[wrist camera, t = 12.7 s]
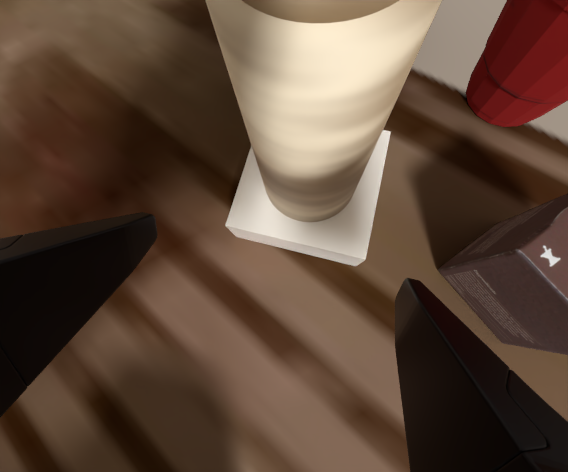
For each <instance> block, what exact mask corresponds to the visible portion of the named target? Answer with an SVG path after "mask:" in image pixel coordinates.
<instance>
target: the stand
mask: <svg viewBox="0 0 568 472" xmlns="http://www.w3.org/2000/svg"><path fill="white" fill-rule="evenodd" d="M389 138H390V131H385V130H383V131H382V133H381V135H380V137H379V139H378V142H377V144H376V146H375V148H374V150H373V153H372V155H371V157H370V159H369V161H368V163H367V166H366V168H365V170H364V172H363V174H362V177H361V179H360V181H359V183H358V185H357V187H356V190H355V192H354V194H353V196H352V198H351V200H350V202H349V203H348V204H347V206H346V207H345V208H344V209H343V210H342V211H341V212H339V213H338V214H336V215H335V216H333V217H331V218H329V219H326V220H323V221H318V222H302V221H297V220H294V219H291V218H289V217H287V216H285V215H284V214H282V213H281V212H280V211H278V210H277V209H276V208H275V207H274V205H273V204H272V203H271V201H270V199H269V197H268V195H267V193H266V190H265V186H264V183H263V180H262V177H261V174H260V171H259V167H258V164H257V161H256V158H255V155H254V152H253V149H252V145H251V148H250V151H249V154H248V157H247V161H246V164H245V167H244V170H243V173H242V176H241V179H240V182H239V185H238V188H237V191H236V194H235V198H234V201H233V204H232V207H231V210H230V213H229V216H228V219H227V222H226V225H225V226H226V227H227V228H228V229H229V230H230V231H231V232H232V233H233V234H234V235H235V236H236V237H239V238H243V239H247V240H252V241H256V242H260V243H264V244H268V245H272V246H276V247H280V248H284V249H288V250H292V251H296V252H300V253H304V254H308V255H312V256H316V257H320V258H324V259H328V260H332V261H337V262H341V263H345V264H349V265H353V266H357V265H358V264H360V263H361V262H363V261H364V260H366V255H367V249H368V244H369V239H370V234H371V229H372V224H373V219H374V214H375V209H376V204H377V199H378V194H379V188H380V183H381V178H382V173H383V168H384V163H385V158H386V153H387V148H388V143H389Z"/></svg>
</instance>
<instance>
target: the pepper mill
mask: <svg viewBox="0 0 568 472" xmlns="http://www.w3.org/2000/svg"><path fill="white" fill-rule="evenodd" d="M205 1H206V4H207V7H208V10H209V13H210V16H211V20H212V23H213V26H214V29H215V32H216V35H217V38H218V42H219V45H220V48H221V51H222V54H223V57H224V60H225V64H226V67H227V70H228V73H229V76H230V79H231V83H232V86H233V89H234V92H235V95H236V98H237V101H238V105H239V108H240V111H241V114H242V117H243V120H244V123H245V127H246V130H247V133H248V136H249V139H250V142H251V145H252V149H253V152H254V155H255V158H256V161H257V164H258V167H259V171H260V174H261V177H262V180H263V183H264V186H265V190H266V193H267V195H268V197H269V199H270V201H271V203H272V204H273V205H274V207H275V208H276V209H277V210H278V211H280V212H281V213H282V214H284V215H285V216H287V217H289V218H291V219H294V220H297V221H302V222H318V221H323V220H326V219H329V218H331V217H333V216H335V215H336V214H338V213H339V212H341V211H342V210H343V209H344V208H345V207H346V206H347V204H348V203H349V202H350V200H351V198H352V196H353V194H354V192H355V190H356V187H357V185H358V183H359V181H360V179H361V177H362V174H363V172H364V170H365V168H366V166H367V163H368V161H369V159H370V157H371V155H372V153H373V150H374V148H375V146H376V144H377V142H378V139H379V137H380V135H381V133H382V131H383V129H384V126H385V124H386V122H387V120H388V118H389V115H390V113H391V111H392V109H393V107H394V105H395V102H396V100H397V98H398V96H399V94H400V91H401V89H402V87H403V85H404V83H405V81H406V78H407V76H408V74H409V72H410V70H411V67H412V65H413V63H414V61H415V59H416V56H417V54H418V52H419V50H420V48H421V46H422V43H423V41H424V39H425V37H426V35H427V32H428V30H429V28H430V26H431V24H432V21H433V19H434V17H435V15H436V13H437V11H438V8H439V6H440V4H441V2H442V0H205Z"/></svg>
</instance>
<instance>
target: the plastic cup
mask: <svg viewBox="0 0 568 472" xmlns="http://www.w3.org/2000/svg"><path fill="white" fill-rule="evenodd" d="M466 96H467V101H468V105H469V106H470V107H471V109H472V110H473V111H474V113H475V114H476V115H477V116H479V117H480V118H482V119H483V120H485V121H486V122H488V123H490V124H494V125H498V126H502V127H510V126H520V125H522V124H524V123H527V122H529V121H531V120H534V119H536V118H538V117H540V116H542V115H544V114H545V113H547V112H549V111H551V110H552V109H554V108H556V107H557V106H559V105H561V104H562V103H564V102H566V101H568V0H507V2H506V4H505V6H504V8H503V10H502V12H501V14H500V16H499V18H498V20H497V22H496V24H495V26H494V28H493V30H492V32H491V34H490V36H489V38H488V40H487V44H486V47H485V49H484V51H483V53H482V55H481V57H480V59H479V61H478V63H477V65H476V66H475V68H474V70H473V72H472V74H471V77H470V81H469V83H468V87H467V90H466Z"/></svg>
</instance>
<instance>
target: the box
mask: <svg viewBox="0 0 568 472" xmlns="http://www.w3.org/2000/svg"><path fill="white" fill-rule="evenodd" d="M438 270H439V272H440V273H441V275H442V276H443V277H444V278H445V279H446V280H447V281H448V282H449V283H450V285H451V286H452V287H453V288H454V289H455V290H456V291H457V293H458V294H459V295H460V296H461V297H462V298H463V299H464V300H465V301H466V303H467V304H468V305H469V306H470V307H471V308H472V309H473V311H474V312H475V313H476V314H477V315H478V316H479V317H480V318H481V320H482V321H483V322H484V323H485V324H486V325H487V326H488V327H489V329H490V330H491V331H492V332H493V333H494V334H495V335H496V336H497V338H498V339H499V340H500V341H501V342H502V343H504V344H510V345H515V346H521V347H526V348H532V349H537V350H543V351H548V352H553V353H560V354H566V355H568V194H566V195H563V196H561V197H558V198H556V199H554V200H552V201H549V202H547V203H544V204H542V205H540V206H537V207H535V208H533V209H530V210H528V211H526V212H524V213H522V214H519V215H517V216H514V217H512V218H509V219H507V220H504V221H502V222H499V223H497V224H496V225H494V226H493V227H492V228H491V229H489V230H488V231H487V232H485V233H484V234H483V235H481V236H480V237H479V238H477V239H476V240H475V241H474V242H472V243H471V244H469V245H468V246H467V247H466V248H464V249H463V250H462V251H461V252H459V253H458V254H457V255H455V256H454V257H453V258H452V259H450V260H449V261H448V262H446V263H445V264H444V265H443V266H441V267H440V268H439V269H438Z"/></svg>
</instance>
